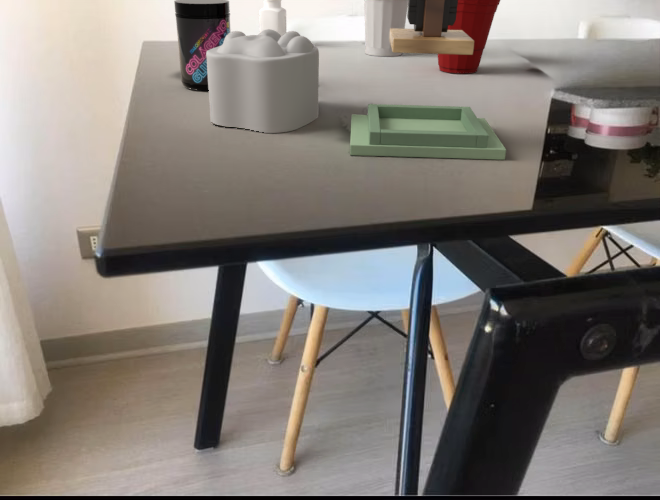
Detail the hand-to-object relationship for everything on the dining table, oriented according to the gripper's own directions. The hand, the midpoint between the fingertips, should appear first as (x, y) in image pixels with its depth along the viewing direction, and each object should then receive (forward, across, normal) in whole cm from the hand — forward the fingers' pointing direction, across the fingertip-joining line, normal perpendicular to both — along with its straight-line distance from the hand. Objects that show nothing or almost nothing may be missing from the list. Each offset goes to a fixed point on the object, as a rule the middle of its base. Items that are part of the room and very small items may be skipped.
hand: (430, 30), depth 57 cm
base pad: (+10, 0, 0) cm, 10 cm away
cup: (+11, -2, +52) cm, 53 cm away
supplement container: (+11, -26, +22) cm, 36 cm away
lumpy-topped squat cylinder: (+11, -16, +8) cm, 21 cm away
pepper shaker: (+11, -22, +58) cm, 63 cm away
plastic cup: (+10, +9, +38) cm, 40 cm away
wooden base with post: (+2, 0, 0) cm, 2 cm away
